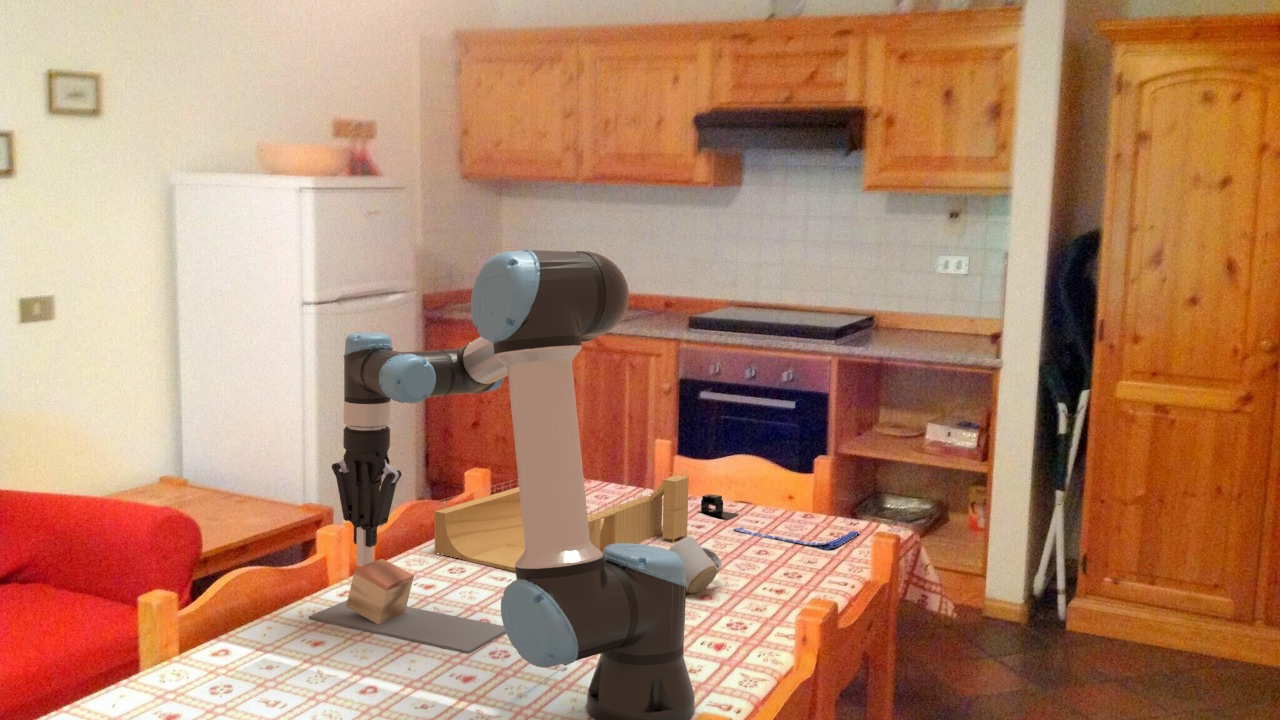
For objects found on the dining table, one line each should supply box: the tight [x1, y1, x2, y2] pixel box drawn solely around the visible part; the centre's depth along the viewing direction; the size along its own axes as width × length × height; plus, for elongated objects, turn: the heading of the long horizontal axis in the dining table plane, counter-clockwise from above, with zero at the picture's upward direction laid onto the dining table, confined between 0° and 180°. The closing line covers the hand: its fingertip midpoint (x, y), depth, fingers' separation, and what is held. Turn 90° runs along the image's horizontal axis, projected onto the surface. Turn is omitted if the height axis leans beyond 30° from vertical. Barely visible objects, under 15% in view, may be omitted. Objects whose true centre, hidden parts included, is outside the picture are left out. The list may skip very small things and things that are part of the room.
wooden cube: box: [346, 558, 415, 625], centre depth 191 cm, size 7×7×7 cm
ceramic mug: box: [668, 536, 723, 595], centre depth 210 cm, size 11×8×8 cm
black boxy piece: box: [697, 493, 740, 521], centre depth 263 cm, size 12×7×5 cm, turn 54°
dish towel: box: [732, 527, 859, 551], centre depth 249 cm, size 17×24×3 cm
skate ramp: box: [434, 467, 690, 573], centre depth 235 cm, size 40×35×16 cm
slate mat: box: [308, 599, 506, 654], centre depth 189 cm, size 12×32×1 cm, turn 64°
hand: (364, 563), depth 192 cm, fingers closed
